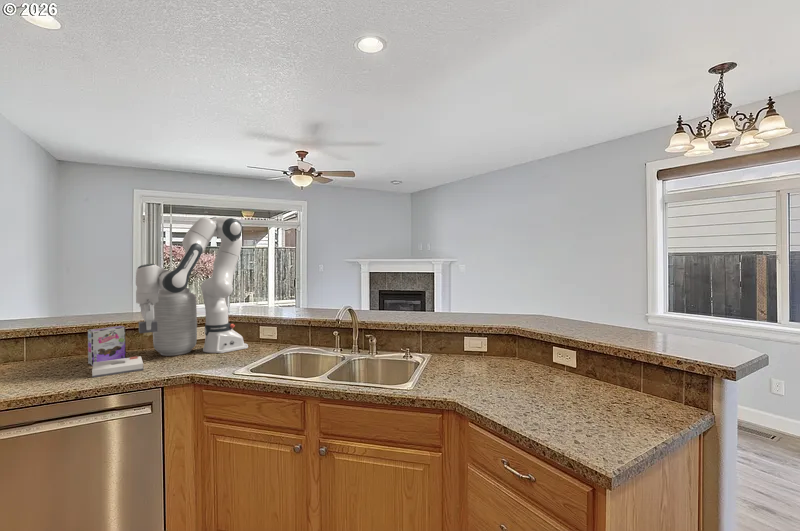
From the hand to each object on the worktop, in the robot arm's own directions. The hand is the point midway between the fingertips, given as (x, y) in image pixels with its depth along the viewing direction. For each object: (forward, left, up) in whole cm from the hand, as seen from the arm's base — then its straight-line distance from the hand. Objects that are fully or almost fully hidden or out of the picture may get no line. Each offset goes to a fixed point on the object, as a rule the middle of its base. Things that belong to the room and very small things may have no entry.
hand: (148, 328), depth 185 cm
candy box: (+16, -19, -17) cm, 30 cm away
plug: (0, 0, -3) cm, 3 cm away
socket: (+12, 0, -17) cm, 21 cm away
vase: (-13, -20, -17) cm, 30 cm away
